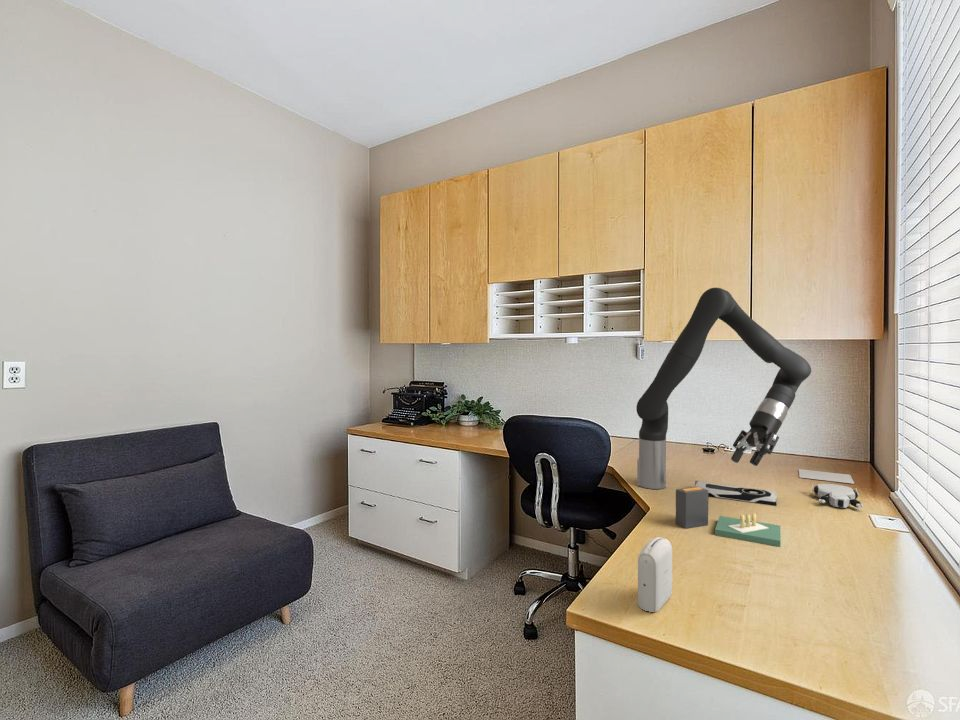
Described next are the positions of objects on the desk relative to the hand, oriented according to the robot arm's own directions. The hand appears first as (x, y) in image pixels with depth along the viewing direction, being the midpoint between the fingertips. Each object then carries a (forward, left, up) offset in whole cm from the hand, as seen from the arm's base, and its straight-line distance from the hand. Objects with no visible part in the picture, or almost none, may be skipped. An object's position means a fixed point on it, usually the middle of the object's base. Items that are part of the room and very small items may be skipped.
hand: (743, 462), depth 143 cm
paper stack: (+20, +60, -17) cm, 65 cm away
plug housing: (-12, -13, -16) cm, 24 cm away
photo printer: (-12, -61, -17) cm, 65 cm away
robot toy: (+25, +30, -17) cm, 42 cm away
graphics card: (-4, +20, -17) cm, 27 cm away
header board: (+2, -12, -16) cm, 20 cm away
